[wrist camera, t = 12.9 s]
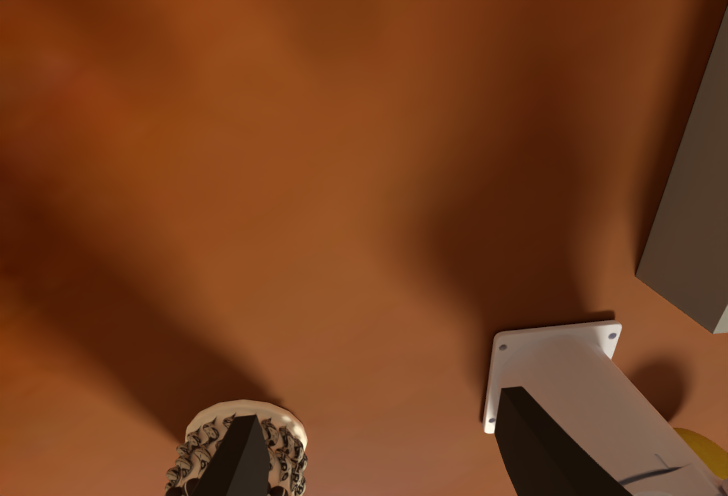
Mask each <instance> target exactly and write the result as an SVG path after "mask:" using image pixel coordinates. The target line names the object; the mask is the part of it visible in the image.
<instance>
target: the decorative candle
mask: <svg viewBox="0 0 728 496" xmlns="http://www.w3.org/2000/svg"><path fill="white" fill-rule="evenodd" d="M247 415H257V417H258V420H259V423H260V426H261V429H262V433H263V436H264V439H265V442H266V445H267V448H268V451H269V455H270V467H269V479H268V489H267V496H302V495H303V493H304V491H305V488H306V480H305V478H304V476H303V471H304V469H305V468H306V465H307V456H306V454H305V453H304V451H305V447H306V444H307V436H306V433H305V430H304V426H303V424H302V423H301V422H300V421H299V420H298V419H297V418H296V417H295V416H294V415H293V414H292V413H291V412H290V411H287V410H285V409H283V408H280V407H278V406H276V405H273V404H271V403H269V402H261V401H253V400H245V399H242V400H235V401H227V402H220V403H217V404H215V405H213V406H211V407H209V408H207V409H205V410H202V411H200V412H199V413H198V414H197V415H196V416H195V418H194V419H193V420H192V421H191V422H190V424H189V425H188V426H187V429H186V437H185V443H184V444H181V445H179V446H178V447H177V452H178V454H179V455H180V457H179V458H178V459H177V460H176V461H175V465H176V466H175V467H173V468H170V469H169V470H168V471H167V474H166V476H167V478H168V479H169V480H170V482H169V483H167V484H166V486H165V491H166V493H165V496H189V495H190V494H191V492H192V491H193V489H194V487H195V486H196V484H197V482H198V481H199V479H200V477H201V476H202V474H203V472H204V471H205V469H206V467H207V466H208V464H209V462H210V460H211V459H212V457H213V455H214V453H215V452H216V450H217V448H218V446H219V444H220V443H221V441H222V439H223V437H224V435H225V433H226V432H227V430H228V428H229V426H230V424H231V422H232V420H233V419H234V418H235V417H238V416H247Z"/></svg>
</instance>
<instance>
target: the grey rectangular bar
mask: <svg viewBox="0 0 728 496" xmlns="http://www.w3.org/2000/svg"><path fill="white" fill-rule="evenodd" d="M635 277H637V278H638V279H639V280H641V281H642V282H643V283H645V284H646V285H647V286H649V287H650V288H652V289H653V290H654V291H656V292H657V293H658V294H660V295H661V296H662V297H664V298H665V299H666V300H668V301H669V302H670V303H672V304H673V305H674V306H676V307H677V308H678V309H680V310H681V311H683V312H684V313H685V314H687V315H688V316H689V317H691V318H692V319H693V320H695V321H696V322H697V323H699V324H700V325H701V326H703V327H704V328H705V329H707V330H708V331H709V332H711V333H712V334H716V333H726V332H728V5H727V8H726V11H725V14H724V17H723V20H722V23H721V26H720V29H719V32H718V35H717V38H716V41H715V44H714V47H713V50H712V53H711V55H710V58H709V61H708V64H707V67H706V70H705V73H704V76H703V79H702V82H701V85H700V88H699V91H698V94H697V97H696V100H695V102H694V105H693V108H692V111H691V114H690V117H689V120H688V123H687V126H686V129H685V132H684V135H683V138H682V141H681V144H680V147H679V149H678V152H677V155H676V158H675V161H674V164H673V167H672V170H671V173H670V176H669V179H668V182H667V185H666V188H665V191H664V194H663V196H662V199H661V202H660V205H659V208H658V211H657V214H656V217H655V220H654V223H653V226H652V229H651V232H650V235H649V238H648V241H647V243H646V246H645V249H644V252H643V255H642V258H641V261H640V264H639V267H638V270H637V273H636V276H635Z"/></svg>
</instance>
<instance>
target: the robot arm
mask: <svg viewBox="0 0 728 496" xmlns="http://www.w3.org/2000/svg"><path fill="white" fill-rule="evenodd" d="M621 329H622V325H621V324H620V323H619V322H618V321H616V320H609V321H599V322H590V323H580V324H571V325H561V326H551V327H542V328H532V329H523V330H513V331H504V332H499V333H498V334H496V335H495V337H494V341H493V349H492V356H491V364H490V372H489V379H488V387H487V394H486V402H485V410H484V417H483V425H482V427H483V430H484V432H486V433H494V434H495V437H496V440H497V443H498V446H499V449H500V453H501V455H502V458H503V461H504V464H505V467H506V470H507V472H508V475H509V477H510V479H511V481H512V484H513V486H514V488H515V490H516V493H517V495H518V496H728V478H726V479H725V480H722V479H721V478H719V477H717V476H716V475H714V473H713V472H712V471H711V470H710V469H709V468H708V467H707V466H706V465H705V463H704V462H703V461H702V460H701V459H700V458H699V457H698V456H697V455H696V453H695V452H694V451H693V450H692V449H691V448H690V447H689V446H688V445H687V443H686V442H685V441H684V440H683V439H682V438H681V437H680V436H679V435H678V434H677V432H676V431H675V430H674V429H673V428H672V427H671V426H670V425H669V424H668V422H667V421H666V420H665V419H664V418H663V417H662V416H661V415H660V414H659V412H658V411H657V410H656V409H655V408H654V407H653V406H652V405H651V404H650V402H649V401H648V400H647V399H646V398H645V397H644V396H643V395H642V394H641V392H640V391H639V390H638V389H637V388H636V387H635V386H634V385H633V384H632V383H631V381H630V380H629V379H628V378H627V377H626V376H625V375H624V374H623V373H622V371H621V370H620V369H619V368H618V367H617V366H616V365H615V364H614V363H613V361H612V360H611V358H612V355H613V352H614V350H615V347H616V344H617V341H618V338H619V335H620V332H621ZM503 344H504V345H503ZM501 345H502V346H501ZM269 467H270V455H269V451H268V448H267V445H266V442H265V439H264V436H263V433H262V429H261V426H260V423H259V420H258V417H257V415H247V416H238V417H235V418H234V419H233V420H232V422H231V424H230V426H229V428H228V430H227V432H226V433H225V435H224V437H223V439H222V441H221V443H220V444H219V446H218V448H217V450H216V452H215V453H214V455H213V457H212V459H211V460H210V462H209V464H208V466H207V467H206V469H205V471H204V472H203V474H202V476H201V477H200V479H199V481H198V482H197V484H196V486H195V487H194V489H193V491H192V492H191V494H190V495H189V496H267V489H268V479H269Z"/></svg>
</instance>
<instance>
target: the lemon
mask: <svg viewBox="0 0 728 496" xmlns="http://www.w3.org/2000/svg"><path fill="white" fill-rule="evenodd" d="M673 429H674V430H675V431H676V432H677V434H678V435H679V436H680V437H681V438H682V439H683V440H684V441H685V442H686V443H687V445H688V446H689V447H690V448H691V449H692V450H693V451H694V452H695V453H696V455H697V456H698V457H699V458H700V459H701V460H702V461H703V462H704V463H705V465H706V466H707V467H708V468H709V469H710V470H711V471H712V472H713V473H714V475H716V476H717V477H719V478H721V479H722V480H725V479H726V478H728V453H727V452H726V451H724V450H723V449H722V448H721V447H720V446H718V445H717V444H716V443H714V442H713V441H711V440H709V439H708V438H706V437H704V436H702V435H700V434H698V433H695V432H693V431H690V430H687V429H682V428H673Z"/></svg>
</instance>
